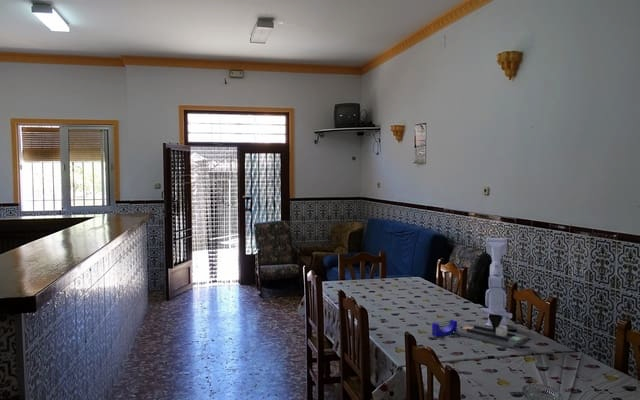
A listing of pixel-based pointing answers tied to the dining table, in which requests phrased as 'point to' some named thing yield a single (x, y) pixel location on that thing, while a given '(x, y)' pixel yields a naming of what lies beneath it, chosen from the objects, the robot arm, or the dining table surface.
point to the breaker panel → (491, 335)
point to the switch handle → (501, 330)
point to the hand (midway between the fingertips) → (495, 330)
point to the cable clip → (446, 330)
